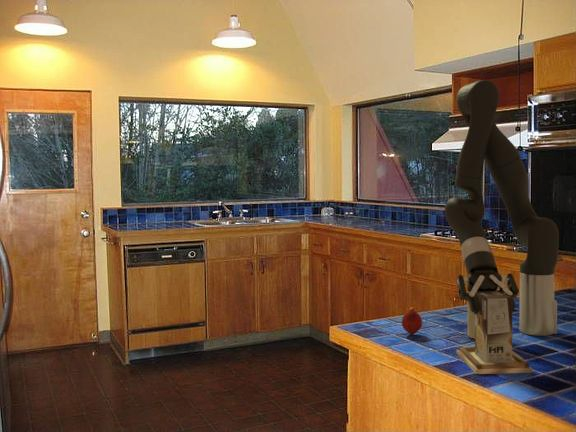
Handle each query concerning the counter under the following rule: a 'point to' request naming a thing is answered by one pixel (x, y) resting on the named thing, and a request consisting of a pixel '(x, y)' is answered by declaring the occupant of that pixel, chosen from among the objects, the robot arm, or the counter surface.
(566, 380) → the counter surface
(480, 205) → the robot arm
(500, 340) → the coffee box
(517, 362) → the wooden tray
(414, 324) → the onion
